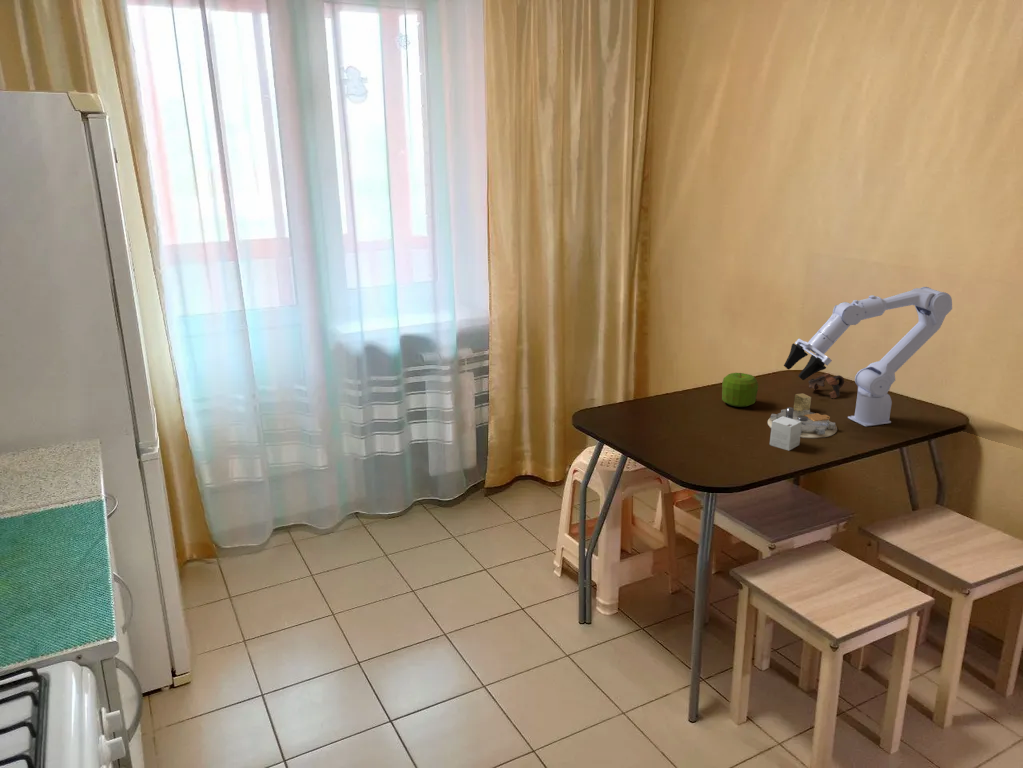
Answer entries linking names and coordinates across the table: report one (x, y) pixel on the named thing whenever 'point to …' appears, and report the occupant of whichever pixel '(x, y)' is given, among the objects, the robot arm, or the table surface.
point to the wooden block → (802, 402)
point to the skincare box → (785, 433)
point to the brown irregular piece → (830, 380)
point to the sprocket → (807, 420)
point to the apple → (739, 389)
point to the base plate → (813, 435)
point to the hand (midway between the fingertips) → (793, 373)
